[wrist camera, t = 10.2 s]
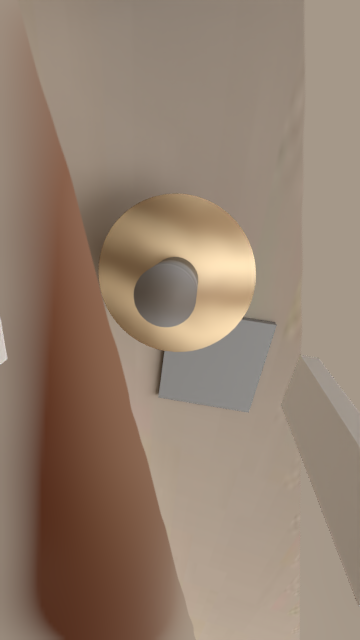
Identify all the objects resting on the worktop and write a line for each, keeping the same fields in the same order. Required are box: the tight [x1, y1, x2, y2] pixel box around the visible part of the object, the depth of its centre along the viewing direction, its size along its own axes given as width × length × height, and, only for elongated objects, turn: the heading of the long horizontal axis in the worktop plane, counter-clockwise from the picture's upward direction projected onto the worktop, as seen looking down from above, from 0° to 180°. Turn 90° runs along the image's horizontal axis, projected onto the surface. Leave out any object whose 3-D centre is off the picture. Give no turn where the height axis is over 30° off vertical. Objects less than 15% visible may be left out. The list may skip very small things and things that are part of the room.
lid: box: [99, 194, 256, 352], centre depth 22 cm, size 15×15×8 cm
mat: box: [159, 317, 276, 412], centre depth 42 cm, size 17×16×1 cm
